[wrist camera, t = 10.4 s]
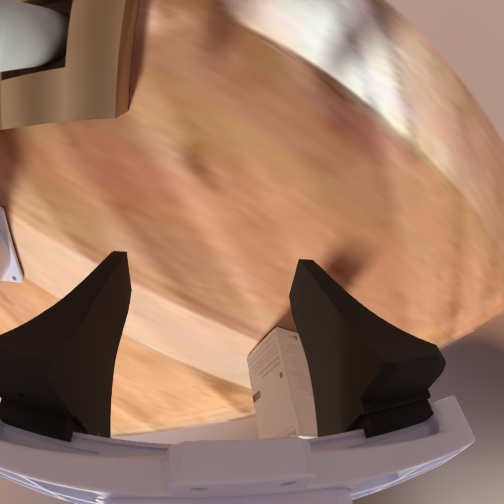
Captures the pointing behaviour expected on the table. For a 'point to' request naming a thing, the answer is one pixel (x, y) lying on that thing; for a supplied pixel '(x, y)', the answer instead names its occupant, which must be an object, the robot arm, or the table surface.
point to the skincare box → (282, 387)
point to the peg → (31, 35)
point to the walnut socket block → (76, 68)
